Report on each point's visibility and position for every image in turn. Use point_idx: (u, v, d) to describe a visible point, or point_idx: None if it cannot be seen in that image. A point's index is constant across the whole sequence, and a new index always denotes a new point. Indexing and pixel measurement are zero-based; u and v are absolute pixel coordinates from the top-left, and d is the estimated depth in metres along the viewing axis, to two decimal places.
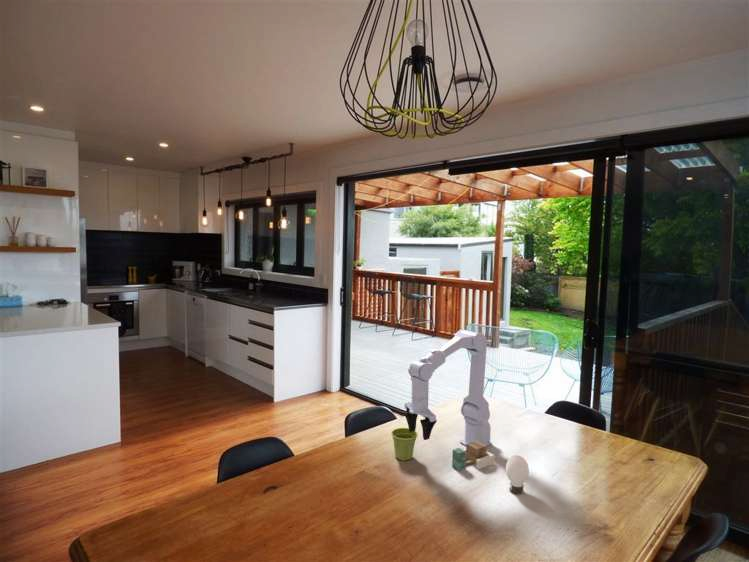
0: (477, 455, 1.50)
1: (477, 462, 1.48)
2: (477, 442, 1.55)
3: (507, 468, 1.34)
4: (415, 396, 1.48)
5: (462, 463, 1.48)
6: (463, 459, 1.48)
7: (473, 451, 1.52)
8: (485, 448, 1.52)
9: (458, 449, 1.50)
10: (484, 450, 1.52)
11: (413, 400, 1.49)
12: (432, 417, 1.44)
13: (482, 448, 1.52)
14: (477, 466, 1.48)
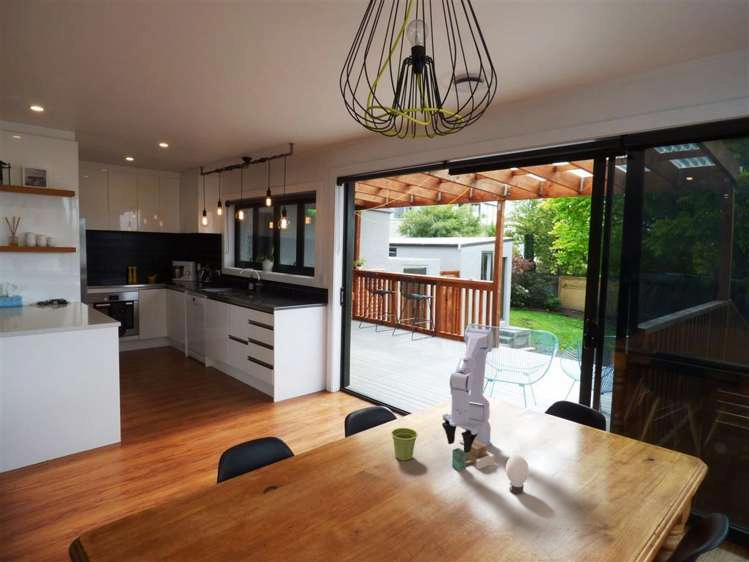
0: (477, 455, 1.50)
1: (477, 462, 1.48)
2: (477, 442, 1.55)
3: (507, 468, 1.34)
4: (460, 409, 1.45)
5: (462, 463, 1.48)
6: (463, 459, 1.48)
7: (473, 451, 1.52)
8: (485, 448, 1.52)
9: (458, 449, 1.50)
10: (484, 450, 1.52)
11: (453, 412, 1.46)
12: (474, 430, 1.42)
13: (482, 448, 1.52)
14: (477, 466, 1.48)
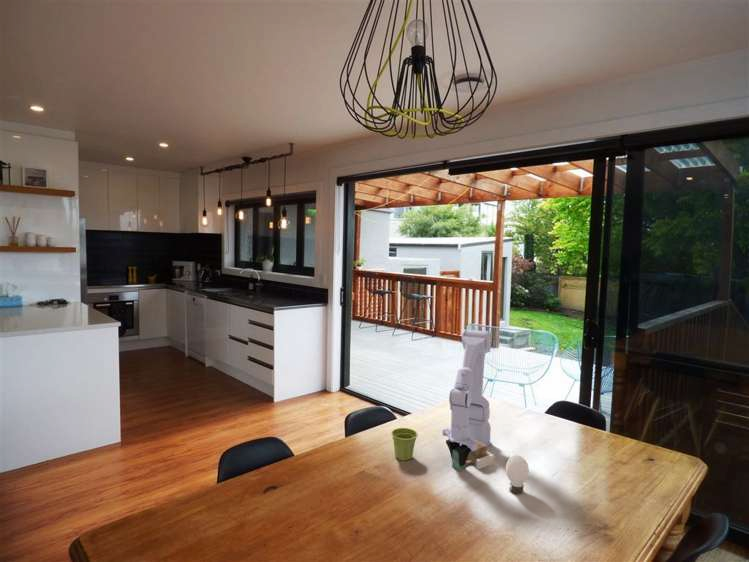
0: (477, 455, 1.50)
1: (477, 462, 1.48)
2: (477, 442, 1.55)
3: (507, 468, 1.34)
4: (459, 425, 1.45)
5: None
6: None
7: (473, 451, 1.52)
8: (485, 448, 1.52)
9: None
10: (484, 450, 1.52)
11: (453, 428, 1.47)
12: (474, 446, 1.42)
13: (482, 448, 1.52)
14: (477, 466, 1.48)
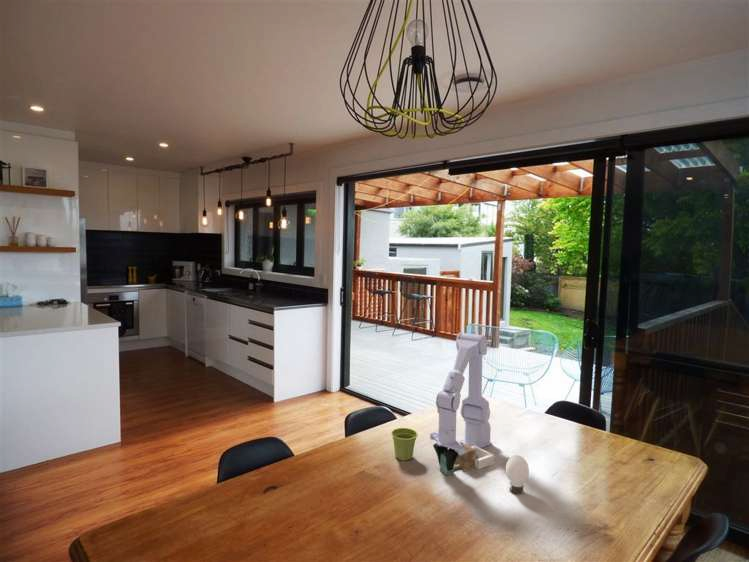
0: (465, 459, 1.47)
1: (477, 462, 1.48)
2: (466, 446, 1.52)
3: (507, 468, 1.34)
4: (446, 428, 1.42)
5: None
6: None
7: None
8: (474, 452, 1.49)
9: None
10: (473, 454, 1.49)
11: (440, 432, 1.44)
12: (461, 450, 1.39)
13: (471, 452, 1.49)
14: (477, 466, 1.48)
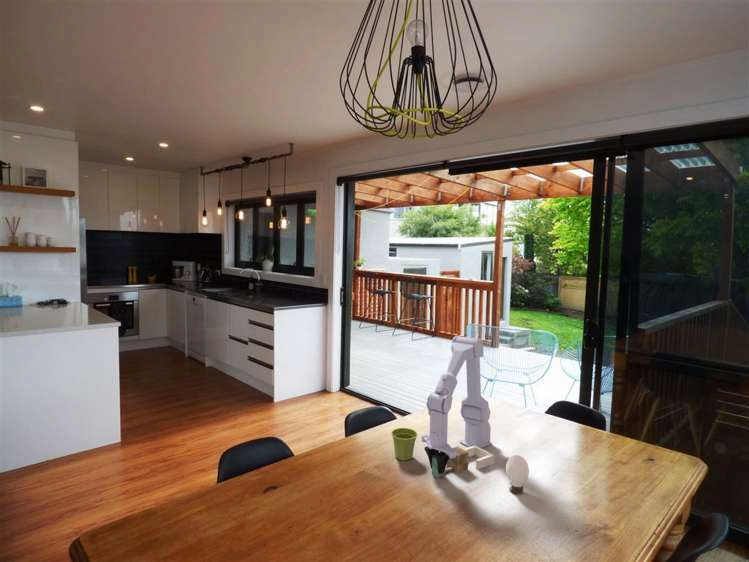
0: (457, 462, 1.45)
1: (477, 462, 1.48)
2: (458, 448, 1.50)
3: (507, 468, 1.34)
4: (436, 431, 1.40)
5: None
6: None
7: None
8: (466, 454, 1.47)
9: None
10: (465, 457, 1.47)
11: (431, 434, 1.41)
12: (452, 453, 1.37)
13: (463, 454, 1.47)
14: (477, 466, 1.48)
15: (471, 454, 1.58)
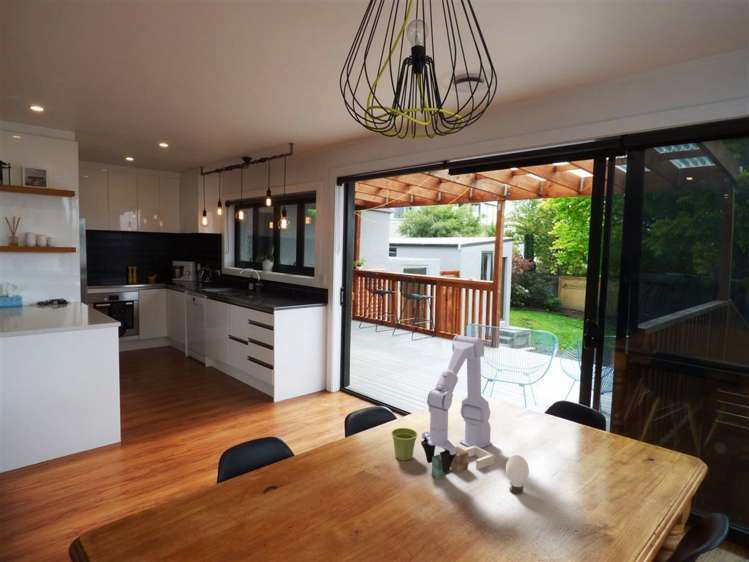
0: (457, 462, 1.45)
1: (477, 462, 1.48)
2: (458, 448, 1.50)
3: (507, 468, 1.34)
4: (437, 427, 1.40)
5: (442, 470, 1.43)
6: None
7: None
8: (466, 454, 1.47)
9: (438, 456, 1.45)
10: (465, 457, 1.47)
11: (432, 431, 1.41)
12: (452, 450, 1.37)
13: (463, 455, 1.47)
14: (477, 466, 1.48)
15: (471, 454, 1.58)
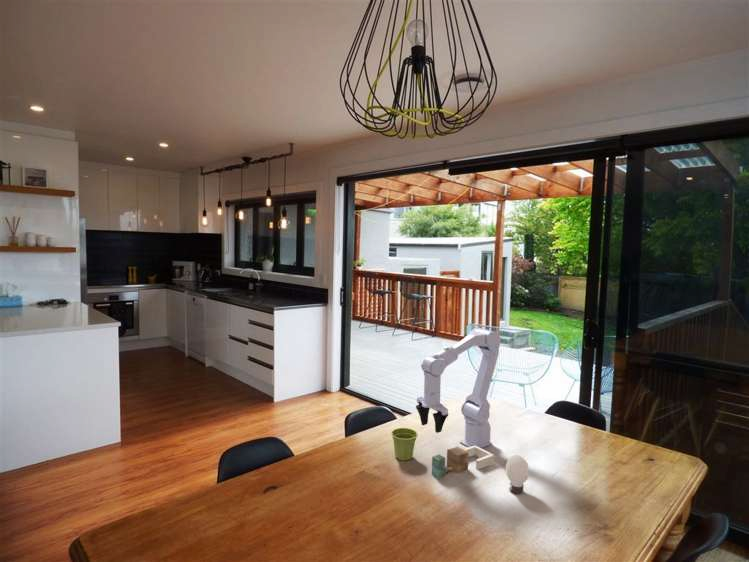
0: (457, 462, 1.45)
1: (477, 462, 1.48)
2: (458, 448, 1.50)
3: (507, 468, 1.34)
4: (427, 390, 1.54)
5: (442, 470, 1.43)
6: (443, 466, 1.43)
7: (453, 457, 1.47)
8: (466, 454, 1.47)
9: (438, 456, 1.45)
10: (465, 457, 1.47)
11: (426, 394, 1.55)
12: (444, 411, 1.50)
13: (463, 455, 1.47)
14: (477, 466, 1.48)
15: (471, 454, 1.58)
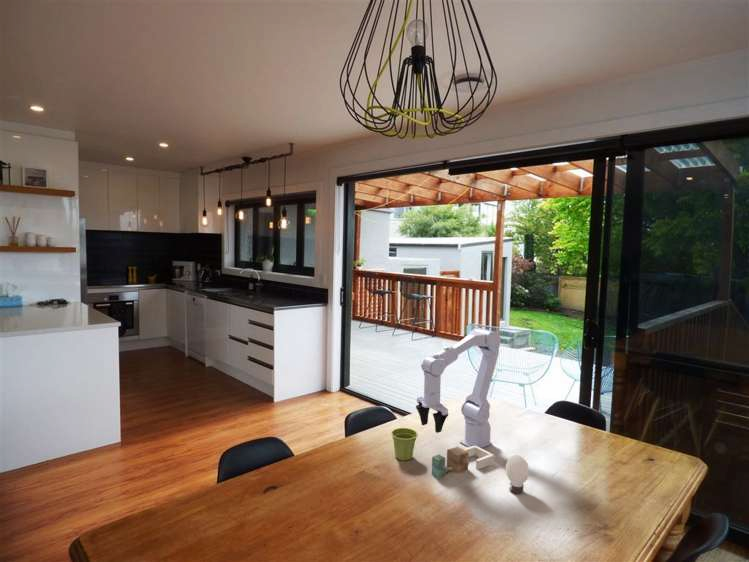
0: (457, 462, 1.45)
1: (477, 462, 1.48)
2: (458, 448, 1.50)
3: (507, 468, 1.34)
4: (427, 390, 1.54)
5: (442, 470, 1.43)
6: (443, 466, 1.43)
7: (453, 457, 1.47)
8: (466, 454, 1.47)
9: (438, 456, 1.45)
10: (465, 457, 1.47)
11: (426, 394, 1.55)
12: (444, 411, 1.50)
13: (463, 455, 1.47)
14: (477, 466, 1.48)
15: (471, 454, 1.58)
